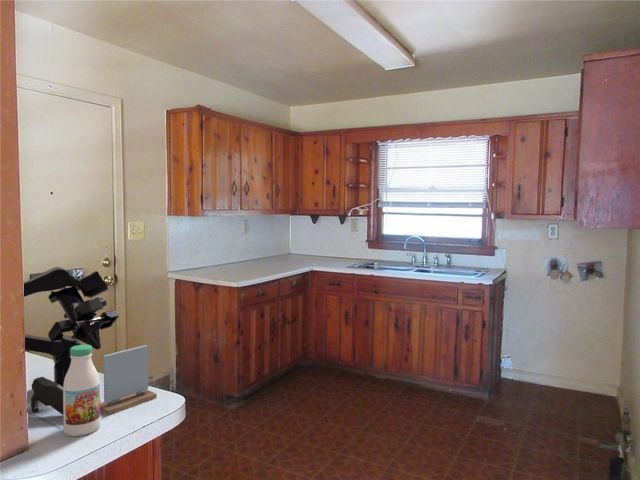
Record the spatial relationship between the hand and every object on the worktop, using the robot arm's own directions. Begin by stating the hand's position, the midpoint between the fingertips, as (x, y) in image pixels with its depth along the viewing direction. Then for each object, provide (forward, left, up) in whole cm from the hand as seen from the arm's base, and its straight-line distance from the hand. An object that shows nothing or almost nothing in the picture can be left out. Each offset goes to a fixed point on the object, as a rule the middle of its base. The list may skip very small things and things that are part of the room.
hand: (98, 348), depth 127 cm
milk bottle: (+18, -13, -13) cm, 26 cm away
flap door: (+13, +1, -11) cm, 17 cm away
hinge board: (+12, +1, -13) cm, 18 cm away
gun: (+5, -13, -13) cm, 20 cm away
